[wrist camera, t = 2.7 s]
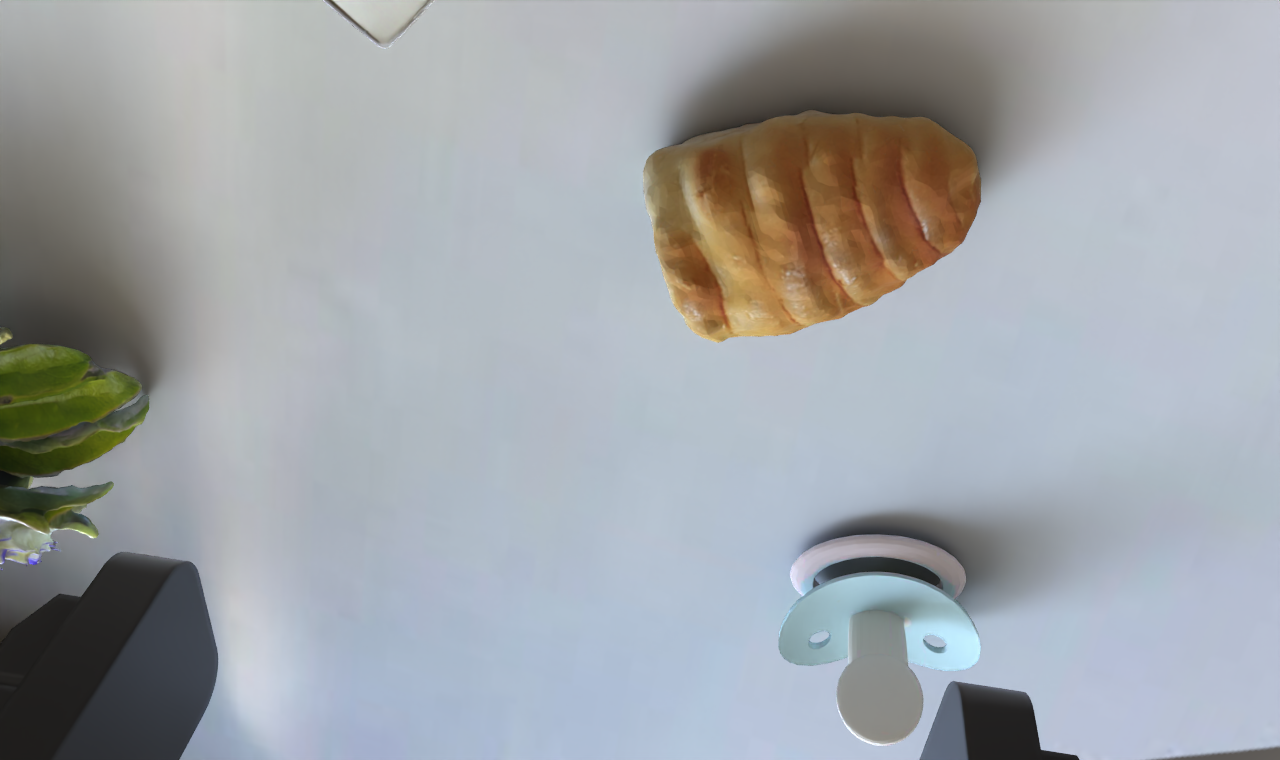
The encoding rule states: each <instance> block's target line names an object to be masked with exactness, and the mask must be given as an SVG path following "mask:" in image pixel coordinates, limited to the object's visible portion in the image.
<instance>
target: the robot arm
mask: <svg viewBox="0 0 1280 760" xmlns="http://www.w3.org/2000/svg"><path fill="white" fill-rule="evenodd" d="M217 669H218V652H217V647H216V643H215V639H214V635H213V630H212V626H211V622H210V618H209V614H208V610H207V606H206V602H205V597H204V593H203V589H202V585H201V581H200V577H199V573H198V570H197V568H196V566H195V565H194V564H193V563H191V562H189V561H182V560H176V559H169V558H163V557H156V556H149V555H143V554H136V553H130V552H120V553H117V554H115V555H114V556H112V557H111V558H110V559H109V560H108V561H107V562H106V563H105V565H104V566H103V567H102V568H101V570H100V571H99V573H98V574H97V576H96V577H95V578H94V580H93V581H92V583H91V584H90V585H89V587H88V588H87V590H86V591H85V592H84V594H83V595H82V597H77V596H70V595H64V594H58V595H57V596H56V597H54V598H53V599H52V600H50V601H49V602H48V603H46V604H45V605H43V606H42V607H41V608H39V609H38V610H37V611H35V612H34V613H33V614H31V615H30V616H29V617H27V618H26V619H24V620H23V621H22V622H20V623H19V624H18V625H16V626H15V627H14V628H12V629H11V631H10V632H9V633H8V635H7V636H6V637H5V639H4V640H3V641H2V643H1V644H0V760H179V759H180V757H181V755H182V754H183V752H184V750H185V748H186V746H187V744H188V742H189V740H190V739H191V737H192V735H193V733H194V731H195V729H196V727H197V725H198V724H199V722H200V720H201V718H202V716H203V714H204V712H205V710H206V708H207V706H208V704H209V701H210V699H211V696H212V693H213V690H214V686H215V682H216V677H217ZM920 760H1079V758H1078V757H1077V756H1076V755H1070V754H1063V753H1057V752H1051V751H1044V750H1041V749H1040V743H1039V737H1038V732H1037V726H1036V720H1035V715H1034V710H1033V705H1032V703H1031V700H1030V698H1029V696H1028V695H1027V694H1026V693H1025V692H1021V691H1014V690H1007V689H1001V688H994V687H988V686H981V685H975V684H968V683H962V682H955V681H953V682H951V683H950V684H949V685H948V687H947V689H946V691H945V693H944V696H943V699H942V701H941V704H940V707H939V709H938V712H937V715H936V717H935V720H934V723H933V725H932V728H931V731H930V733H929V736H928V739H927V741H926V744H925V747H924V749H923V752H922V755H921V757H920Z"/></svg>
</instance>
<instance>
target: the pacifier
mask: <svg viewBox="0 0 1280 760" xmlns="http://www.w3.org/2000/svg"><path fill="white" fill-rule="evenodd" d="M861 557H885V558H896V559H900V560H905V561H909V562H912V563H915V564H918V565H920V566H923V567H925V568H927V569H929V570H930V571H932V572H933V573H935V574H936V575H937V576H938V577H939V579H940V582H939V584H938V585H937V586H934V585H932V584H930V583H928V582H925V581H923V580H920V579H917V578H914V577H911V576H907V575H902V574H897V573H889V572H861V573H854V574H849V575H845V576H841V577H837V578H834V579H832V580H829V581H827V582H824V583H822V584H819V583H818V582H817V581H816V580H815V576H816V575H817V574H818V573H819V572H820V571H821V570H822V569H824V568H826V567H828V566H830V565H832V564H835V563H838V562H841V561H844V560H849V559H855V558H861ZM790 577H791V580H792V584H793V586H794V588H795V589H796V590H797V591H798V592H799V593H800V594H801V595H802V597H801V598H800V599H798V600H797V601H796V603H795V604H794V605H793V606H792V607H791V609H790V610H789V612H788V613H787V615H786V616H785V618H784V620H783V623H782V625H781V628H780V632H779V650H780V653H781V655H782V656H783V657H784V659H785V660H787V661H788V662H790V663H794V664H796V665H808V666H813V665H820V664H826V663H831V662H834V661H838V660H841V659H844V658H847V657H848V666H847V667H846V668H845V669H844V671H843V672H842V674H841V676H840V678H839V681H838V684H837V690H836V700H837V707H838V711H839V714H840V716H841V718H842V720H843V722H844V724H845V725H846V727H847V728H848V729H849V730H850V731H851V732H852V734H854V735H855V736H856V737H857V738H859V739H860V740H862V741H864V742H866V743H869V744H872V745H877V746H888V745H892V744H896V743H898V742H900V741H902V740H904V739H905V738H906V737H908V736H909V735H910V734H911V733H912V732H913V731H914V729H915V728H916V726H917V724H918V722H919V720H920V718H921V714H922V710H923V693H922V689H921V686H920V683H919V681H918V679H917V677H916V675H915V674H914V673H913V671H912V670H911V669H910V668H909V667H908V661H909V662H911V663H914V664H917V665H920V666H924V667H928V668H932V669H936V670H944V671H959V670H964V669H968V668H970V667H972V666H974V664H975V663H976V662H977V661H978V659H979V657H980V650H981V645H980V640H979V635H978V632H977V630H976V627H975V625H974V623H973V621H972V620H971V618H970V616H969V615H968V613H967V612H966V611H965V609H964V608H963V607H962V606H961V605H960V604H959V603H958V602H957V601H956V600H955V598H956V597H957V596H958V595H959V594H961V592H962V591H963V588H964V586H965V583H966V575H965V570H964V568H963V567H962V566H961V564H960V563H959V562H958V561H957V559H956V558H955V557H954V556H952V555H951V554H949V553H948V552H946V551H944V550H943V549H941V548H939V547H937V546H934V545H932V544H929V543H927V542H924V541H921V540H916V539H912V538H907V537H903V536H893V535H882V534H871V535H853V536H847V537H841V538H836V539H832V540H829V541H826V542H823V543H820V544H817V545H815V546H813V547H812V548H810V549H808V550H807V551H805V552H803V553H802V554H801V555H800V556H799V558H798V559H797V560H796V561H795V562H794V563H793V565H792V568H791V572H790ZM820 631H826V632H828V633H829V634H830V635H829V637H828V638H827V639H826V640H824V641H822V642H820V643H812V642H810V641H809V639H810V638H811V636H812V635H814V634H815V633H817V632H820ZM926 635H936V636H938V637H940V638H941V639H943V641H944V642H945V643H946V645H945V646H944V647H934V646H932V645H930V644H928V643H927V642H926V641H925V640H924V637H925V636H926Z"/></svg>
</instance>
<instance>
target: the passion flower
mask: <svg viewBox="0 0 1280 760" xmlns="http://www.w3.org/2000/svg"><path fill="white" fill-rule="evenodd" d="M12 338H13V335H12V333H11V331H10V329H9V328H6V327H1V328H0V344H2V343H4V342H5V341H7V340H9V339H12ZM141 389H142V385H141V384H140V383H139V381H138V380H136V379H135V378H134V377H130V376H128V375H126V374H123V373H120V372H118V371H116V370H112V369H104V368H101V367H99V366H98V365H96V364H95V363H94V362H93V361H92V359H91V357H90V356H88V355H87V354H85V353H82V352H81V351H79V350H76V349H71V348H68V347H63V346H57V345H49V344H25V345H19V346H14V347H7V348H0V564H3V563H4V562H5V559H8V560H13V561H15V562H18V563H21V564H25V565H26V566H28V563H29V564H33V565H35V564H38V563H40V562H42V561H41V557H42V554H43V552H44V551H50V550H51V549H52V550H57V551H61V550H60V549H57V548H52V547H55V543H58V542H56V541H54V540H52V539H51V534H52V532H53V531H56V530H65V529H71V530H76V531H78V532H81V533H83V534H86V535H88V536H89V537H91V538H97V536H98V534H99V533H98V530H97V528H96V527H95V526H94V525H93V524H92V522H91V520H90V519H89V518H88V517H86V516H84V515H82V514H78V513H80V512H81V511H82V510H84V509H85V508H87V504H88V503H91V502H93V501H95V500H96V499H99V498H101V497H102V496H104V495H105V494H107V493H108V491H109V490H111V489H112V488H113V486H114V483H113V482H112V481H111V482H108V483H106V484H102V485H95V486H91V487H87V488H78V487H75V486H73V485H71V486H68V487H61V488H55V487H44V486H41V487H36V488H31V489H29V487H30V486H31V484H32V482H33V477H37V478H40V477H53V476H57V475H59V474H60V473H61V472H62V471H64V470H70V469H73V468H75V467H77V466H80V465H82V464H85V463H89V462H91V461H93V460H95V459H97V458H99V457H100V456H102V455H103V454H105V453H106V452H108V451H110V450H111V449H112V448H113V447H115V446H116V445H118V444H120V443H123V442H124V441H125V439H126V438H127V437H128V436H129V435H130V434H131V433H132V431H133V430H134V429H135V427H136V426H137V425H139V424H142V423H143V421H144V419H145V416H146V413H147V412H148V410H149V396H148V395H145V396H143V397H141V398H140V399H139V400H138V401H137V402H136V403H135V404H132V405H131V406H128V407H126V408H124V409H122V410H118V411H115V410H116V409H119V408H121V407H122V406H123V405H124V404H126V403H127V402H129V401H131V400H132V399H134V398H135V397H136V396H137V395H138V394H139V392H140V391H141ZM114 411H115V412H114ZM0 570H3V569H2V568H1V567H0Z"/></svg>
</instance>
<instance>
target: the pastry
mask: <svg viewBox="0 0 1280 760" xmlns="http://www.w3.org/2000/svg"><path fill="white" fill-rule="evenodd" d="M643 189H644V197H645V204H646V209H647V212H648V214H649V216H650V218H651V223H652V228H653V231H654V243H655V249H656V253H657V255H658V258H659V261H660V264H661V268H662V273H663V276H664V279H665V282H666V284H667V287H668V291H669V294H670V298H671V300H672V303H673V304H674V306H675V307H676V309H677V310H678V312H679V313H681V314H682V315H683V316H684V320H685V323H686V324H687V326H688V327H689V328H690V329H691V330H692V331H693V332H694V333H696V334H697V335H699V336H701V337H702V338H705V339H709V340H712V341H715V342H718V343H719V342H722V341H724V340H726V339H727V338H730V337H738V336H758V337H761V336H769V335H772V336H778V335H783V334H791V333H794V332H796V331H799V330H801V329H803V328H806V327H808V326H811V325H813V324H815V323H820V322H824V321H829V320H834V319H839V318H842V317H844V316H845V315H847V314H848V313H850V312H852V311H855V310H857V309H859V308H861V307H865V306H869V305H871V304H873V303H874V302H876V301H877V300H878V299H879V298H880V297H881V296H882V295H884V294H886V293H889V292H891V291H893V290H895V289H898V288H900V287H901V286H902V285H903V284H904V283H905V281H906V280H907V279H908V278H910V277H912V276H913V275H915V274H916V273H918V272H919V271H921V270H923V269H925V268H927V267H929V266H931V265H933V264H934V263H935V262H936V261H937V260H939V259H940V258H942V257H944V256H946V255H948V254H950V253H951V252H952V251H953V250H954V249H955V248H956V247H957V246H959V245H960V244H962V242H963V241H964V239H965V237H966V235H967V233H968V230H969V229H970V227H971V225H972V223H973V221H974V219H975V217H976V214H977V209H978V207H979V205H980V202H981V178H980V174H979V170H978V165H977V159H976V156H975V154H974V152H973V151H972V149H971V148H970V146H968V145H967V144H966V143H964V142H963V141H962V140H960V139H958V138H957V137H955V136H954V135H952V134H951V133H950V132H948V131H947V130H945V129H944V128H942V127H941V126H940V125H938V124H937V123H935V122H934V121H932V120H930V119H929V118H926V117H910V118H902V117H897V116H886V117H873V116H869V115H866V114H862V113H850V114H837V115H835V114H829V113H824V112H819V111H815V110H807V111H804V112H801V113H799V114H797V115H786V116H779V117H775V118H771V119H768V120H765V121H764V122H761V123H750V124H744V125H743V126H741V127H737V128H730V129H727V130H724V131H716V132H711V133H708V134H703V135H698V136H695V137H692V138H691V139H689V140H687V141H685V142H684V143H682V144H681V145H673V146H669V147H665V148H662V149H659V150H657V151H655V152H654V153H653V154H652V155H651V156H649V158H648V159H647V160H646V164H645V167H644V170H643Z"/></svg>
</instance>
